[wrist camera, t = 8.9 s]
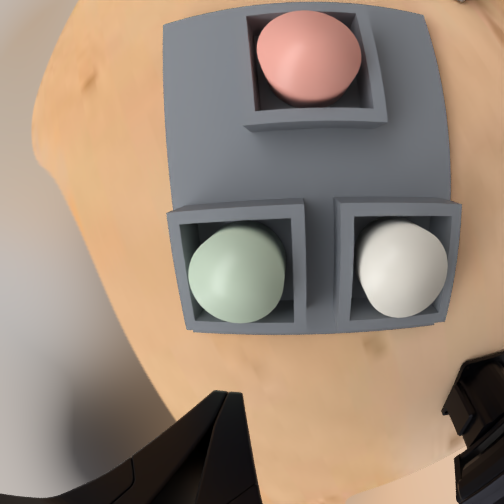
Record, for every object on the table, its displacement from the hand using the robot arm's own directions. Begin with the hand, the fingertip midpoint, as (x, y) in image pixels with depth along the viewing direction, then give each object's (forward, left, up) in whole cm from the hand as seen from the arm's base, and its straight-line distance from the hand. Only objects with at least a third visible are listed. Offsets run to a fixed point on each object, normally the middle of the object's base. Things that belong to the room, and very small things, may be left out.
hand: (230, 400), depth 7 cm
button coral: (-3, -11, -9) cm, 15 cm away
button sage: (+1, -1, -9) cm, 9 cm away
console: (-3, -6, -10) cm, 12 cm away
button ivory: (-7, -1, -9) cm, 11 cm away
